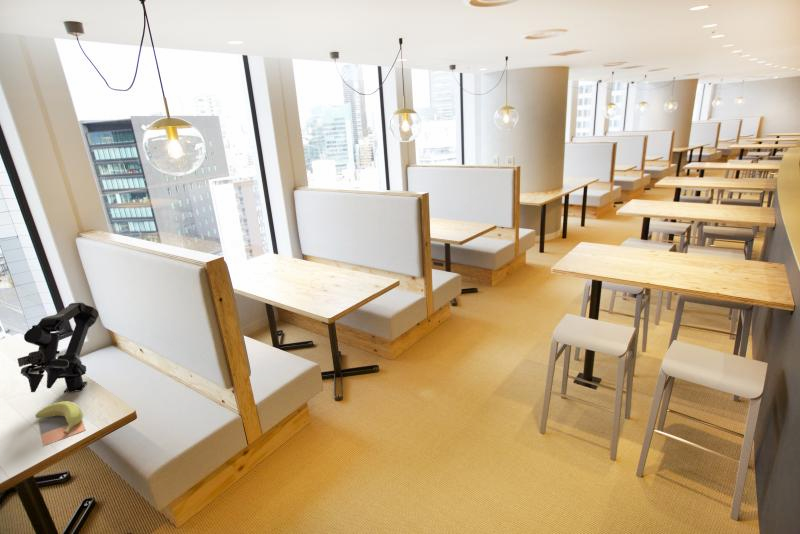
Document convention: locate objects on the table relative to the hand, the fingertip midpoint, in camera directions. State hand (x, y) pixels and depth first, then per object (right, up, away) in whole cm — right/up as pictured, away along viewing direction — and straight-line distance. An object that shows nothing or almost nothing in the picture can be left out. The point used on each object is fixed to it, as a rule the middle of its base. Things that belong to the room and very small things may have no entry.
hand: (40, 390), depth 161 cm
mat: (+6, -12, +1) cm, 14 cm away
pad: (+12, -14, -5) cm, 19 cm away
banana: (+8, -12, 0) cm, 15 cm away
